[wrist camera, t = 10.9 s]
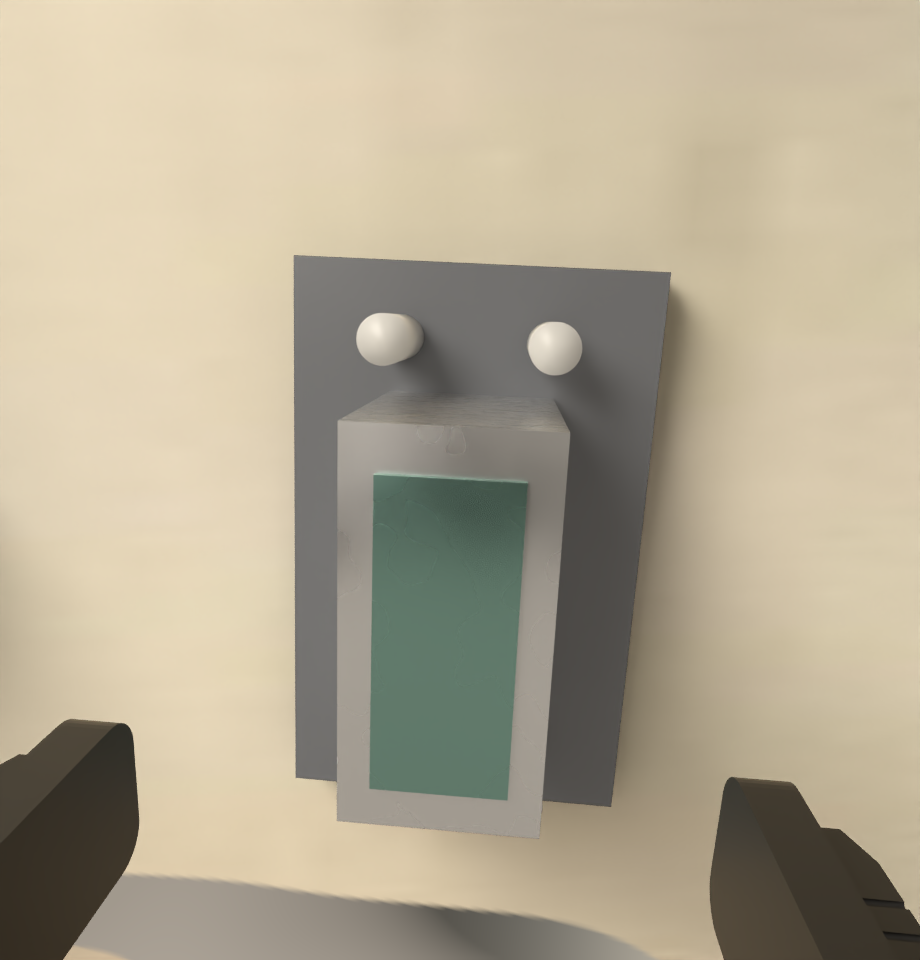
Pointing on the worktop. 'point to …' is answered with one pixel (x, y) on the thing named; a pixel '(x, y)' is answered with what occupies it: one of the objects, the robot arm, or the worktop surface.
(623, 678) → the grey wall plate
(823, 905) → the robot arm
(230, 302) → the worktop surface
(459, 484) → the block
